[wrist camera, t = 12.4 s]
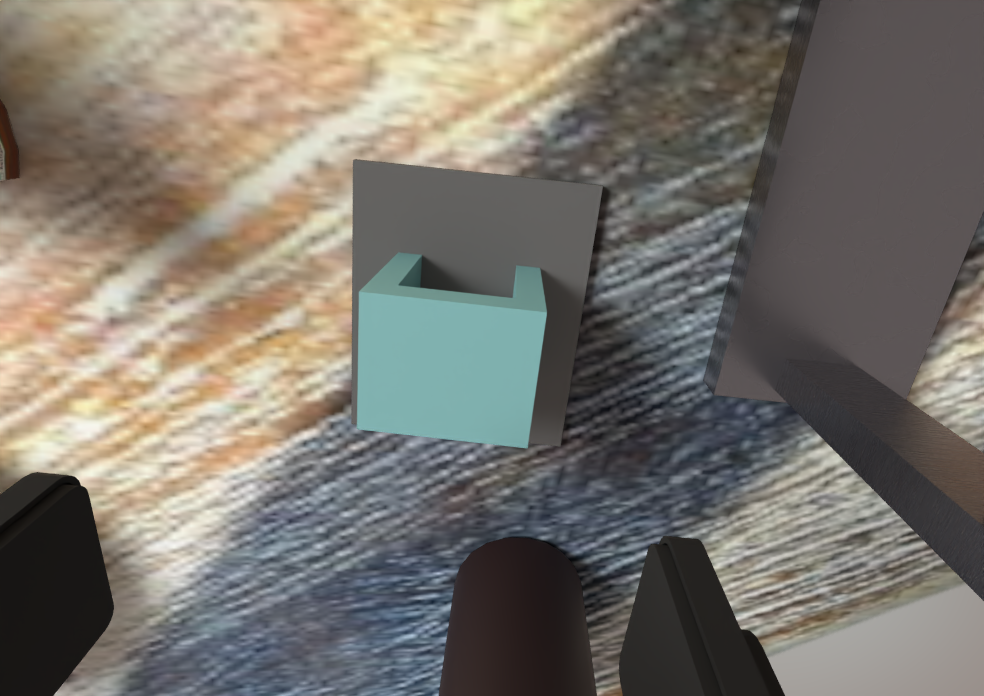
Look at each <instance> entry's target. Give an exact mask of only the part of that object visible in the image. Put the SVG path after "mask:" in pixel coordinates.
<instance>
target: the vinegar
mask: <svg viewBox="0 0 984 696" xmlns="http://www.w3.org/2000/svg"><path fill="white" fill-rule="evenodd" d="M439 696H597V693H596V686H595V678H594V671H593V664H592V657H591V650H590V642H589V635H588V628H587V621H586V613H585V606H584V599H583V592H582V585H581V581H580V578H579V576H578V573H577V571H576V569H575V566H574V565H573V564H572V562H571V561H570V560H569V559H568V558H567V557H566V556H565V555H564V554H563V553H562V552H561V551H559V550H558V549H556V548H554V547H552V546H551V545H549V544H547V543H545V542H541V541H537V540H533V539H530V538H503V539H500V540H496V541H492V542H489V543H486V544H485V545H483V546H481V547H480V548H478V549H476V550H475V551H473V552H472V553H471V554H470V555H469V556H468V557H467V559H466V560H465V561H464V562H463V564H462V565H461V566H460V568H459V571H458V574H457V577H456V581H455V584H454V591H453V598H452V606H451V613H450V620H449V627H448V634H447V641H446V648H445V655H444V662H443V669H442V676H441V683H440V690H439Z"/></svg>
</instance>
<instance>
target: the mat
mask: <svg viewBox="0 0 984 696" xmlns="http://www.w3.org/2000/svg"><path fill="white" fill-rule="evenodd" d="M602 189H603V186H602V185H595V184H586V183H576V182H567V181H557V180H548V179H538V178H528V177H519V176H509V175H500V174H490V173H481V172H471V171H462V170H452V169H443V168H433V167H424V166H414V165H405V164H395V163H386V162H376V161H367V160H357V159H355V160H353V264H352V424H357V395H358V327H359V291H360V290H361V289H362V288H363V287H364V286H365V285H366V284H367V283H368V282H369V281H370V280H371V279H372V278H373V277H374V276H375V275H376V274H377V273H378V272H379V271H380V270H381V269H382V268H383V267H384V266H385V265H386V264H387V263H388V262H389V261H390V260H391V259H392V258H393V257H394V256H395V255H396V254H397V253H398V252H400V253H409V254H418V255H422V265H421V282H420V288H426V289H435V290H444V291H453V292H462V293H471V294H480V295H489V296H498V297H507V298H513V290H514V282H515V274H516V265H517V266H526V267H535V268H540V271H541V277H542V283H543V290H544V296H545V303H546V309H547V316H546V323H545V330H544V337H543V344H542V351H541V358H540V364H539V371H538V378H537V385H536V392H535V399H534V406H533V413H532V420H531V427H530V434H529V441H528V443H532V444H541V445H551V446H560V445H561V439H562V433H563V427H564V421H565V415H566V409H567V403H568V396H569V390H570V384H571V378H572V372H573V366H574V360H575V354H576V348H577V342H578V335H579V329H580V323H581V317H582V311H583V305H584V299H585V293H586V287H587V281H588V274H589V268H590V262H591V256H592V250H593V244H594V238H595V232H596V226H597V220H598V214H599V207H600V201H601V195H602Z"/></svg>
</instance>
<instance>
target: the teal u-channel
mask: <svg viewBox="0 0 984 696" xmlns="http://www.w3.org/2000/svg"><path fill="white" fill-rule="evenodd" d="M421 265H422V255H418V254H409V253H400V252H398V253H397V254H396V255H395V256H394V257H393V258H392V259H391V260H390V261H389V262H388V263H387V264H386V265H385V266H384V267H383V268H382V269H381V270H380V271H379V272H378V273H377V274H376V275H375V276H374V277H373V278H372V279H371V280H370V281H369V282H368V283H367V284H366V285H365V286H364V287H363V288H362V289H361V290H360V291H359V327H358V395H357V429H360V430H369V431H378V432H387V433H396V434H405V435H414V436H423V437H432V438H441V439H449V440H458V441H467V442H476V443H485V444H494V445H503V446H512V447H521V448H528V441H529V434H530V427H531V420H532V413H533V406H534V399H535V392H536V385H537V378H538V371H539V364H540V358H541V351H542V344H543V337H544V330H545V323H546V316H547V309H546V303H545V296H544V290H543V283H542V277H541V271H540V268H535V267H526V266H517V265H516V274H515V282H514V290H513V298H507V297H498V296H489V295H480V294H471V293H462V292H453V291H444V290H435V289H426V288H420V282H421Z"/></svg>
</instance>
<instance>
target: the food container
mask: <svg viewBox="0 0 984 696" xmlns="http://www.w3.org/2000/svg"><path fill="white" fill-rule="evenodd" d="M17 178H19V152H18V147H17V143H16V140H15V137H14V133H13V130H12V127H11V123H10V120H9V116H8V113H7V110H6V108H5V106H4V104H3V103H2V101H1V99H0V181H4V180H10V179H17Z"/></svg>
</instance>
